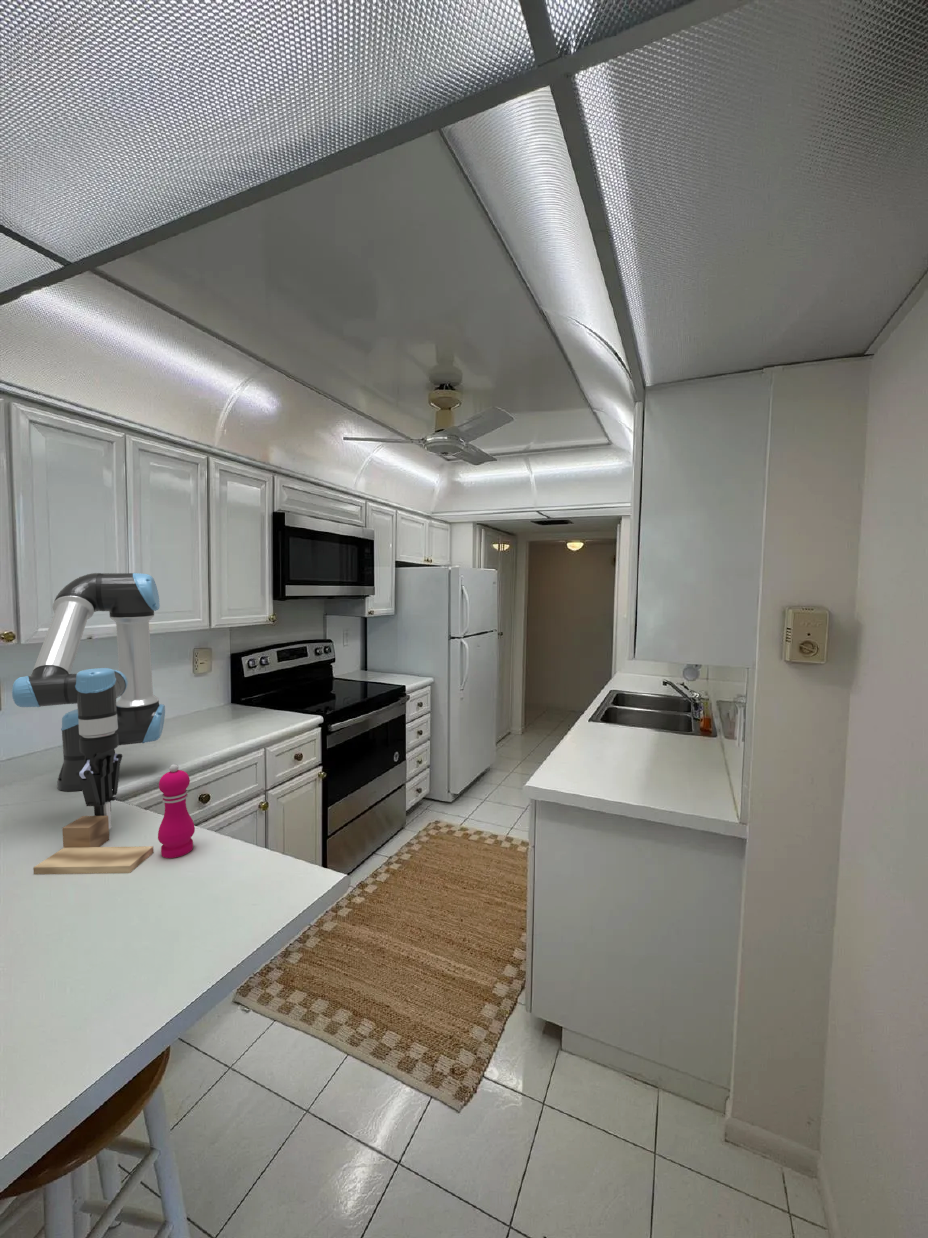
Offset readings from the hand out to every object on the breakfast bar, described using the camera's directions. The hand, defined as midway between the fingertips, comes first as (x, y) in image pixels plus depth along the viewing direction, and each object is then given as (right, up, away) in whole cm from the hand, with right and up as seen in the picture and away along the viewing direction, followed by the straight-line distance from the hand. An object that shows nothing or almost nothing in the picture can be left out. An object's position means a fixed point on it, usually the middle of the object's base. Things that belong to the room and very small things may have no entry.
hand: (103, 829), depth 120 cm
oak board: (+7, -3, -12) cm, 15 cm away
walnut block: (0, -2, -5) cm, 6 cm away
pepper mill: (+22, -2, -8) cm, 24 cm away
